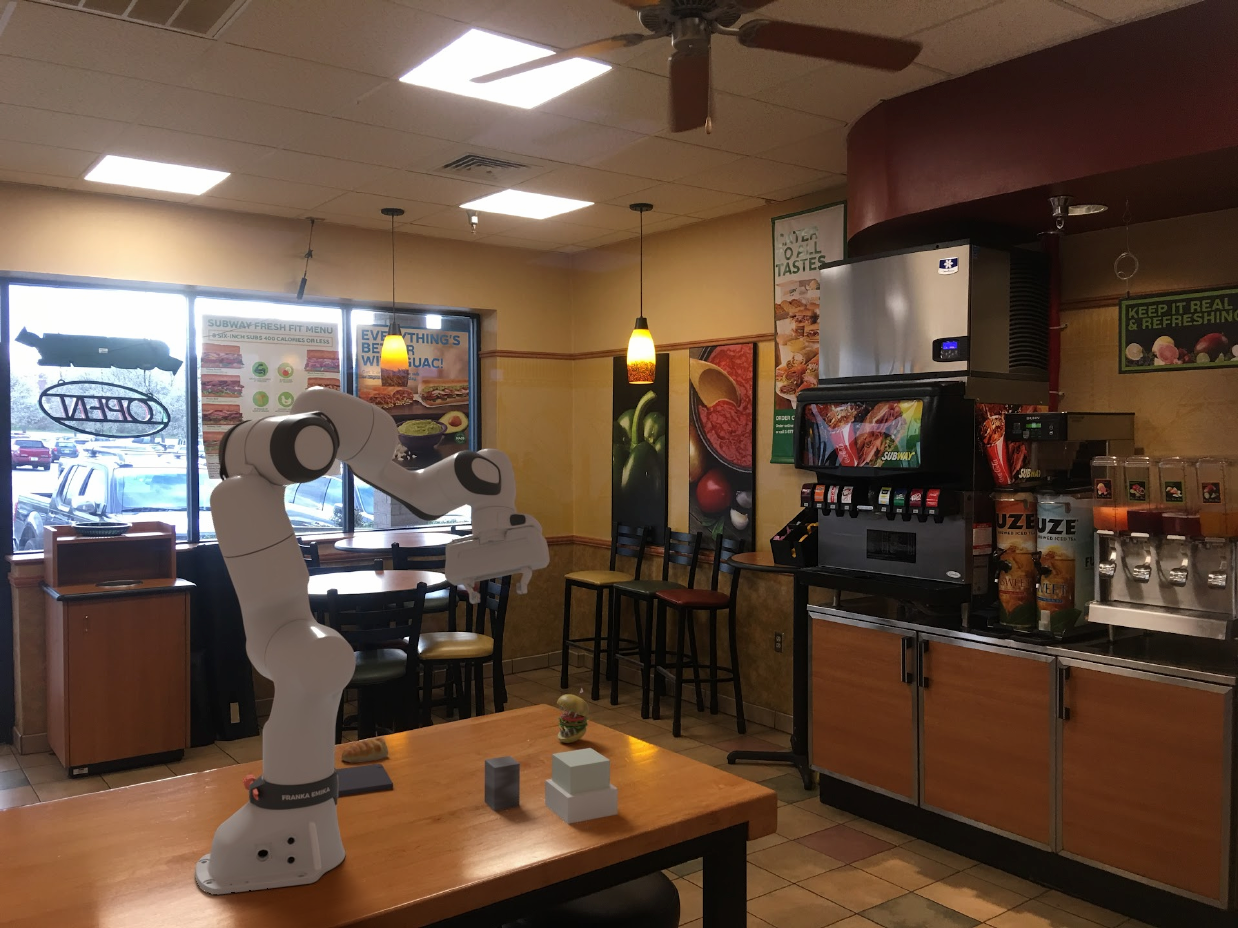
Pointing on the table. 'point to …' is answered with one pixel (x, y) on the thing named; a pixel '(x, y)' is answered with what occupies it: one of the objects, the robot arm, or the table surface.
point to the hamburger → (572, 718)
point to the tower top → (580, 771)
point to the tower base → (580, 803)
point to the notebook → (363, 779)
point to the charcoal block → (502, 783)
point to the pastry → (366, 751)
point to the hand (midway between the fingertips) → (498, 597)
